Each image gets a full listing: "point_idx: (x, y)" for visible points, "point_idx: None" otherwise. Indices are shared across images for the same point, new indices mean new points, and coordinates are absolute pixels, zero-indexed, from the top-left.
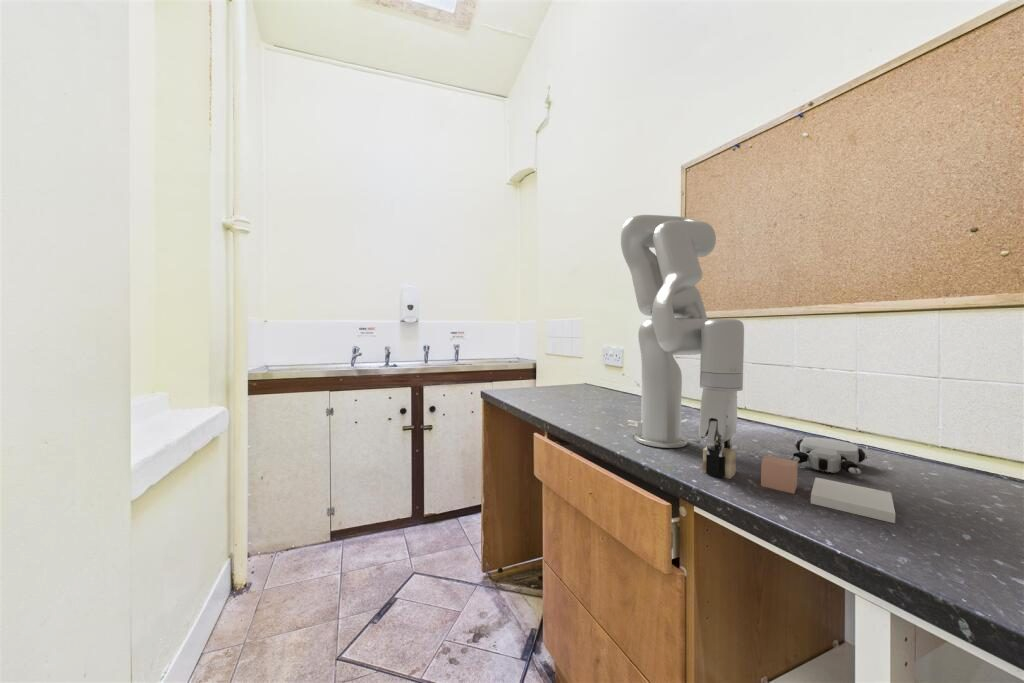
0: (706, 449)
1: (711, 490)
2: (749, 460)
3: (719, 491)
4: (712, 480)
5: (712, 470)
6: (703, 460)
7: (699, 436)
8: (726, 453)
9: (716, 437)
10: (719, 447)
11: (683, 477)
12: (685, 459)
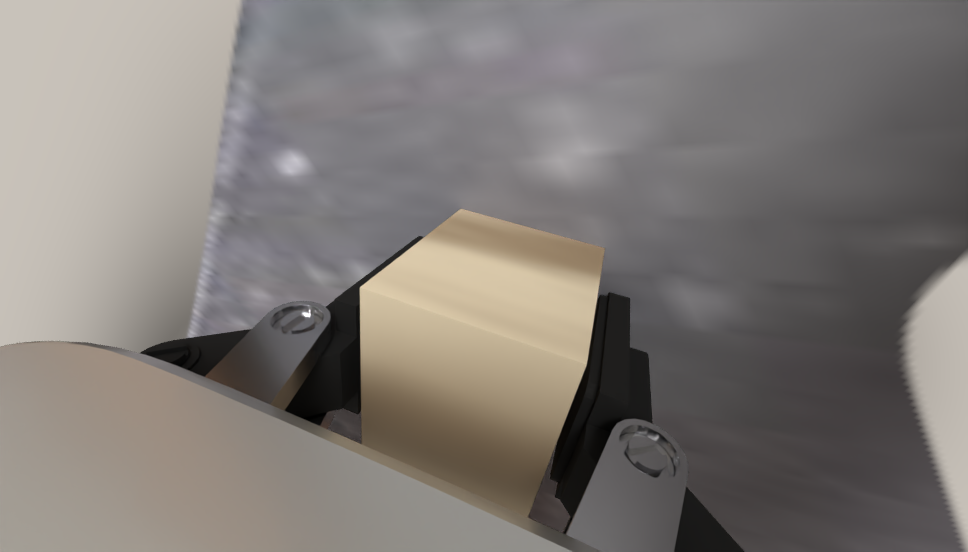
0: (375, 317)
1: (242, 247)
2: (940, 539)
3: (257, 278)
4: (363, 259)
5: None
6: (418, 245)
7: (30, 342)
8: (368, 443)
9: (567, 532)
10: (524, 441)
11: (295, 94)
12: (803, 20)
